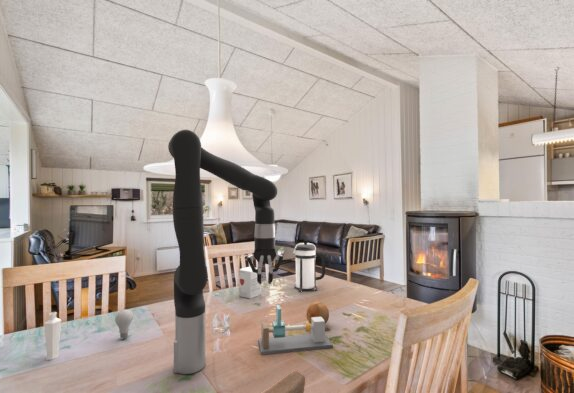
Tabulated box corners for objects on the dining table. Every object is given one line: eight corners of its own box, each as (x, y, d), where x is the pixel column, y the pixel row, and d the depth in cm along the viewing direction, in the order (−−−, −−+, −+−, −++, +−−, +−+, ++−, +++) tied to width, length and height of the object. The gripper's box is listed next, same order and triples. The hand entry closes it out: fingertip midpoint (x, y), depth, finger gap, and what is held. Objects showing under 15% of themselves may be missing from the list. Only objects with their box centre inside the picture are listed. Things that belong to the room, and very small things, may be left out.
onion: (310, 319, 132) (310, 297, 132) (332, 323, 128) (332, 300, 128) (302, 327, 123) (302, 303, 124) (325, 332, 119) (325, 307, 119)
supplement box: (238, 296, 165) (238, 269, 165) (249, 292, 172) (249, 266, 172) (250, 299, 160) (250, 271, 160) (261, 294, 167) (261, 268, 167)
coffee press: (312, 294, 167) (312, 241, 167) (288, 290, 175) (288, 239, 176) (325, 287, 181) (325, 238, 182) (303, 283, 190) (302, 236, 190)
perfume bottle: (57, 359, 99) (58, 314, 100) (42, 361, 98) (42, 316, 98) (63, 352, 104) (64, 309, 104) (49, 354, 103) (49, 311, 103)
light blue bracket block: (274, 338, 106) (274, 309, 106) (272, 332, 110) (272, 305, 110) (285, 337, 107) (284, 308, 107) (283, 332, 111) (283, 304, 111)
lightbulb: (129, 341, 112) (129, 312, 112) (112, 343, 111) (112, 313, 111) (135, 334, 118) (135, 306, 118) (118, 335, 117) (118, 307, 117)
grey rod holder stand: (260, 354, 102) (260, 329, 102) (258, 341, 112) (258, 318, 112) (332, 347, 107) (332, 323, 107) (324, 335, 117) (324, 313, 117)
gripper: (246, 237, 103) (246, 287, 103) (285, 236, 106) (285, 285, 105) (245, 235, 110) (245, 281, 110) (282, 234, 113) (282, 279, 113)
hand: (265, 283), depth 108 cm, fingers open, 3 cm apart
